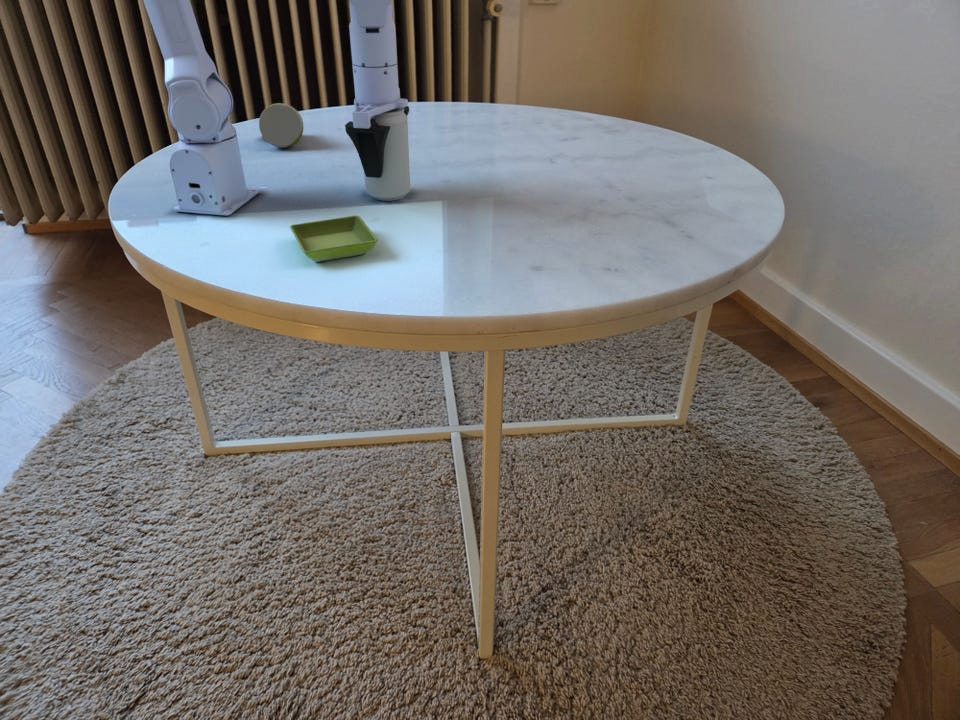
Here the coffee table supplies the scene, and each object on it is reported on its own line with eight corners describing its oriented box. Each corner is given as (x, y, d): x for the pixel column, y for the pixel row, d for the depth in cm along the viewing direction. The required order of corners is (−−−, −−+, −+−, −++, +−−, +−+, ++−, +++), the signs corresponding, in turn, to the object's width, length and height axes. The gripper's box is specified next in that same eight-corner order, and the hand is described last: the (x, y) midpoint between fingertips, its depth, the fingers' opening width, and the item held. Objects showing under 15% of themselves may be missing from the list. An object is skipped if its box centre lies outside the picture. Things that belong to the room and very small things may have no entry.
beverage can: (388, 184, 100) (383, 99, 94) (420, 193, 97) (416, 107, 90) (356, 195, 96) (348, 107, 90) (388, 206, 93) (382, 116, 86)
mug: (310, 134, 123) (311, 89, 114) (297, 172, 118) (298, 129, 109) (268, 123, 121) (266, 77, 113) (254, 162, 117) (251, 117, 108)
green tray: (291, 240, 83) (288, 224, 82) (360, 229, 86) (358, 214, 85) (305, 269, 76) (303, 252, 75) (380, 256, 79) (378, 240, 78)
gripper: (388, 76, 81) (395, 187, 88) (419, 55, 92) (422, 154, 100) (332, 73, 82) (343, 183, 89) (369, 52, 93) (376, 151, 101)
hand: (382, 167), depth 95 cm, fingers open, 7 cm apart
